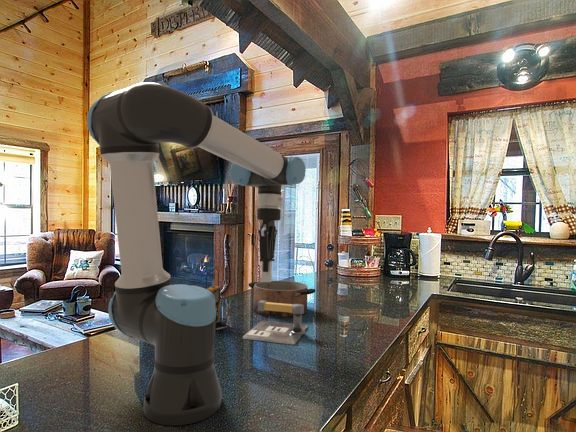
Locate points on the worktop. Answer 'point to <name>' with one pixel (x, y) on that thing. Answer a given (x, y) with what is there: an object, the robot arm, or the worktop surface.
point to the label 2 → (277, 329)
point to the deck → (288, 338)
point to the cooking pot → (280, 295)
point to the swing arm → (281, 307)
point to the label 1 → (259, 333)
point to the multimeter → (216, 298)
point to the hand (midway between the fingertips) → (266, 281)
